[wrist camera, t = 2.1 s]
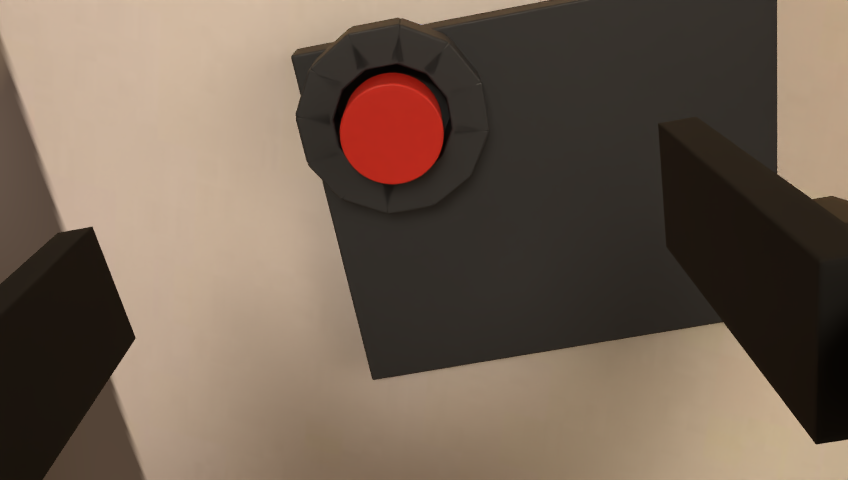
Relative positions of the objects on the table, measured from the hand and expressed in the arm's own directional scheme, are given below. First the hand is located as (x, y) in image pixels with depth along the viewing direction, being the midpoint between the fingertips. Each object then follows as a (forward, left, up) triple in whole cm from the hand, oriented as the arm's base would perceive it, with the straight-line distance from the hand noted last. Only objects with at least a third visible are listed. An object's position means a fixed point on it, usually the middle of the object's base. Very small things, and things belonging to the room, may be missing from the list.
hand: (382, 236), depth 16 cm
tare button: (0, 0, -10) cm, 10 cm away
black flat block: (+5, -4, -12) cm, 14 cm away
